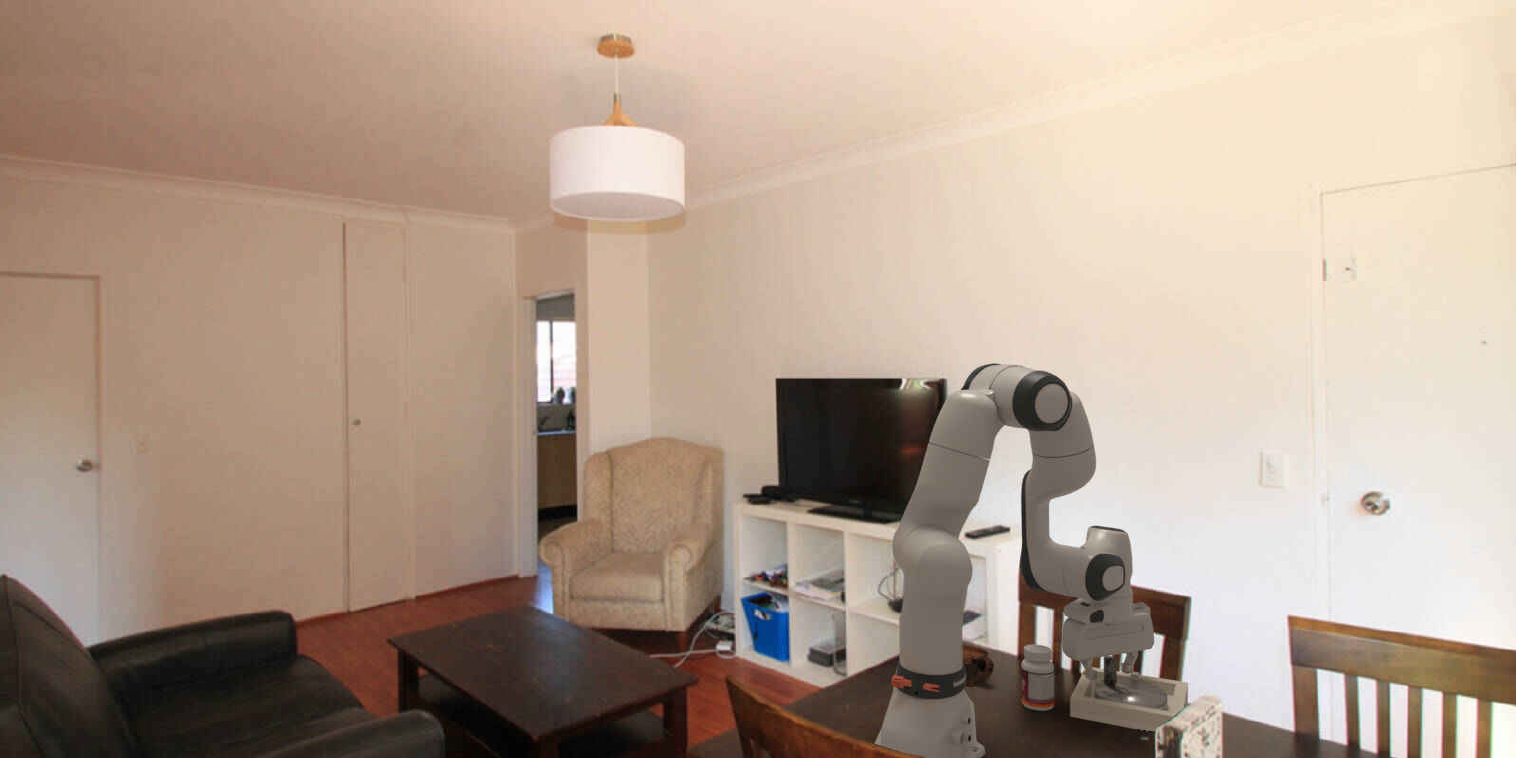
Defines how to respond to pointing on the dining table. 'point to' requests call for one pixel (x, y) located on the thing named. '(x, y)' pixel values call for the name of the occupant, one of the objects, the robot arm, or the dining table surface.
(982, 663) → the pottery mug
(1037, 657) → the pill bottle
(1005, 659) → the dining table surface
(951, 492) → the robot arm
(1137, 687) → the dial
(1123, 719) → the tray
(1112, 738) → the dining table surface
